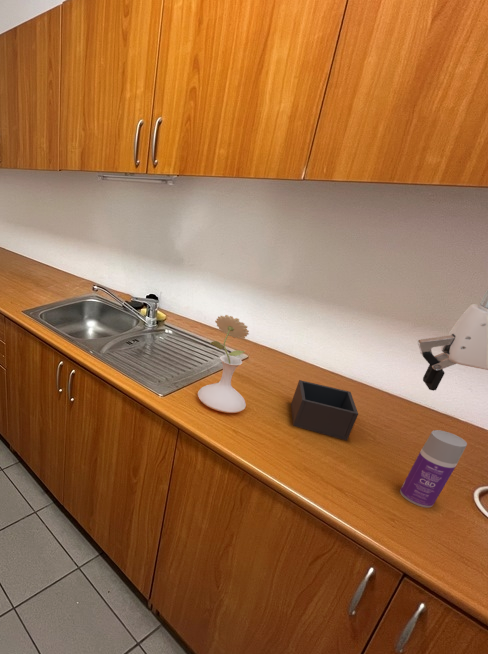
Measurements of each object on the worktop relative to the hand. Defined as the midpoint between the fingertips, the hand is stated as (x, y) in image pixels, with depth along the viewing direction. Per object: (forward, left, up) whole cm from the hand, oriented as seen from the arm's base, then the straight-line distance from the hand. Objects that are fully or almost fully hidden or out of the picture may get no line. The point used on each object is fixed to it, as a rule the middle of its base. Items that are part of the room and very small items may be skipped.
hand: (468, 395), depth 69 cm
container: (-1, 0, -25) cm, 25 cm away
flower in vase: (+35, -15, -25) cm, 46 cm away
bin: (+13, -19, -24) cm, 34 cm away
